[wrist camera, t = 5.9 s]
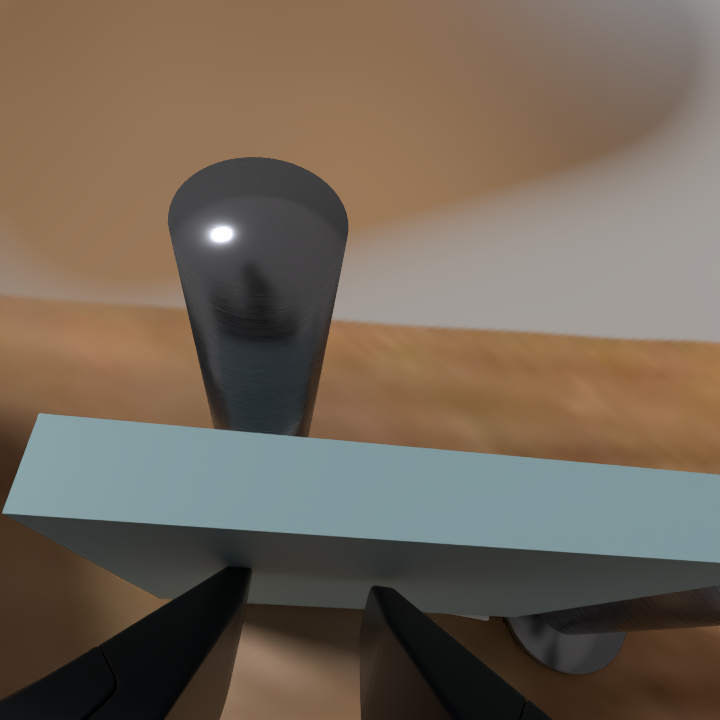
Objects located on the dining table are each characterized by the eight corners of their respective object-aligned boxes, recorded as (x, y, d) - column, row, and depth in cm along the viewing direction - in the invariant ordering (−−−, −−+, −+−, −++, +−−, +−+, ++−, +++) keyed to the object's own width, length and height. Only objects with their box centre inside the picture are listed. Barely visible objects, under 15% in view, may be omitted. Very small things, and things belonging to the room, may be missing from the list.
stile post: (332, 478, 17) (423, 240, 7) (254, 545, 16) (235, 362, 6) (271, 409, 18) (279, 112, 8) (192, 466, 17) (86, 194, 7)
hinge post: (642, 604, 17) (1180, 532, 7) (574, 707, 15) (1163, 806, 5) (547, 509, 18) (894, 328, 8) (473, 594, 16) (801, 499, 6)
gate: (509, 574, 16) (787, 481, 8) (513, 617, 16) (819, 569, 7) (169, 552, 15) (38, 413, 6) (160, 598, 14) (1, 513, 6)
